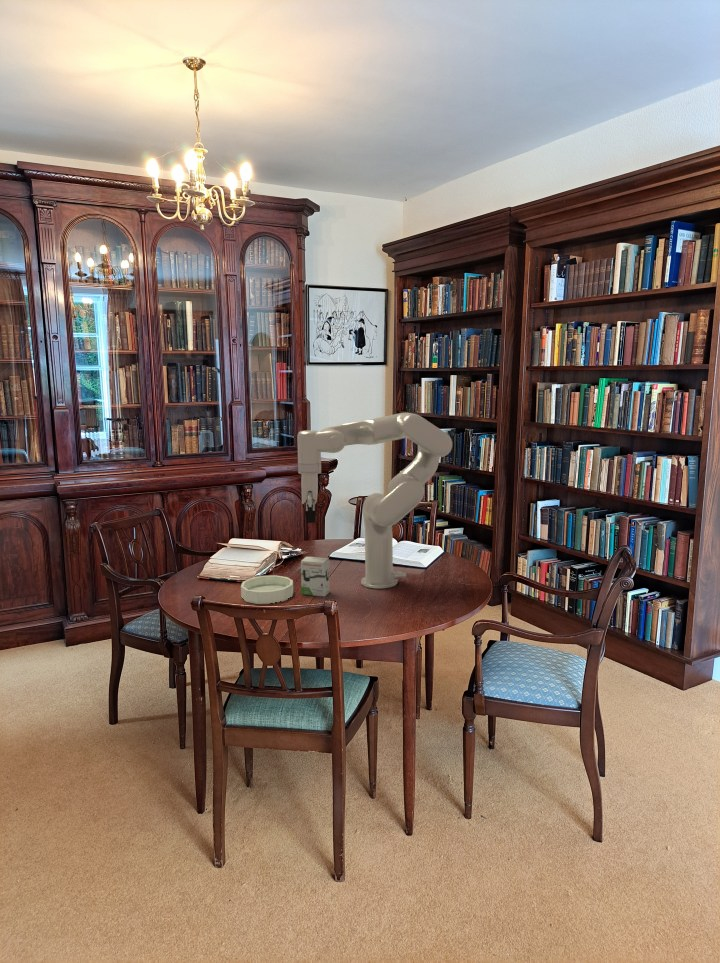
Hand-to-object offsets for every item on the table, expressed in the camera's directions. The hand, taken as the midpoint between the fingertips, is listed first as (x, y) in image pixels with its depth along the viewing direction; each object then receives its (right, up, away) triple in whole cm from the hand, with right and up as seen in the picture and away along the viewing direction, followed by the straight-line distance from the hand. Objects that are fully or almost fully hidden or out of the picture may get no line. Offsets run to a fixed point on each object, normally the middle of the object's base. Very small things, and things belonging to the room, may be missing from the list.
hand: (311, 519), depth 214 cm
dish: (-15, -25, +1) cm, 29 cm away
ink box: (+1, -25, +1) cm, 25 cm away
